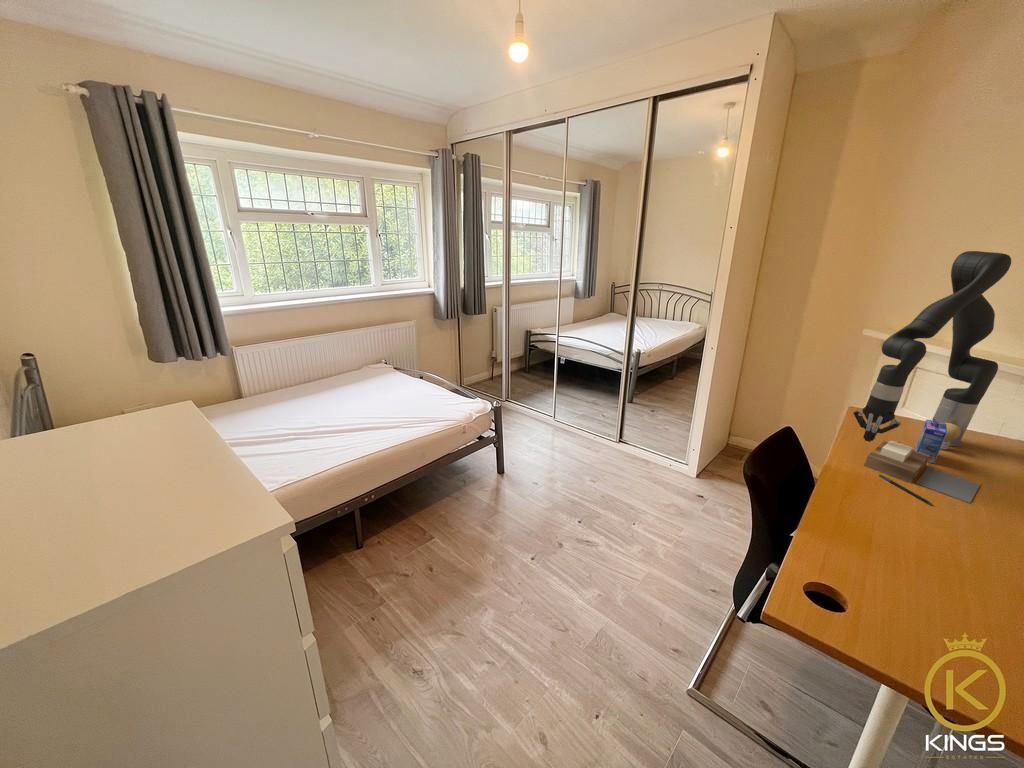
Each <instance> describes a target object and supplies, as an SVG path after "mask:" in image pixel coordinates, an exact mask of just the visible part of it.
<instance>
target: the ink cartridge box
mask: <svg viewBox="0 0 1024 768" xmlns="http://www.w3.org/2000/svg"><path fill="white" fill-rule="evenodd" d="M932 419H933V420H932ZM932 419H926V420H925V422H924V425H923V428H922V430H921V433H920V436H919V438H918V440H917V442H916V445H915V448H914V450H915V451H918V452H921V453H924V454H927V455H930V456H929V458H928V461H927V463H930V464H935V463H936V460H937V458H938V455H939V453H940V451H941V450H942V449H941V446H942V444H943V441H944V439H945V436H946V434H947V426H946V424H945V423H941V422H937V421H935V418H934V416H933V417H932Z"/></svg>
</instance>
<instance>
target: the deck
mask: <svg viewBox="0 0 1024 768" xmlns="http://www.w3.org/2000/svg"><path fill="white" fill-rule="evenodd" d="M888 442H889V441H888V440H887V441H886V440H883V441H882V443H880V444H879V445H878V446H877V447H876V448H874V449H873V450H872V451H871V452H870V453H869V454H868V455H867V457H866V460H865V462H864V464H863V465H864V467H867V468H869V469H872V470H875V471H878V472H880V473H882V474H886V475H888V476H891V477H893V478H897V479H898V480H902V481H905V482H906V483H913V481H914V480H915V478H916V477H917V476H918V475H919V473H921V471H922V470H923V469H924V468H925V467H926V466H927V465H926V464H927V463H928V462H927V461H928V458H929V456H930V455H927V454H924V453H921V452H918V451H915V449H913V450H912V452H911V454H910V455H909V456H908V457H907V458H906V459H905V460H904V462H901V461H898V460H895V459H892V458H889V457H887V456H884V455H881V454H880V452H881V450H882V448H883V447H884V446H885V445H886V444H887V443H888Z"/></svg>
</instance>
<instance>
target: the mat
mask: <svg viewBox="0 0 1024 768" xmlns="http://www.w3.org/2000/svg"><path fill="white" fill-rule="evenodd" d="M915 484H916V485H918V486H922V487H924V488H927V489H930V490H932V491H935V492H938V493H940V494H943V495H946V496H949V497H951V498H953V499H957V500H959V501H962V502H965V503H966V504H971V502H972V500H973V498H974V497H975V495H976V493H977V491H978V490H979V488H980V485H981V483H977V482H975V481H971V480H968V479H965V478H962V477H959V476H957V475H953V474H951V473H948V472H944V471H942V470H940V469H936V468H934V467H930V466H928V468H926V470H924V472H923V473H922V475H921V476H920V477H919V478H918V479H917V480H916V482H915Z"/></svg>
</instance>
